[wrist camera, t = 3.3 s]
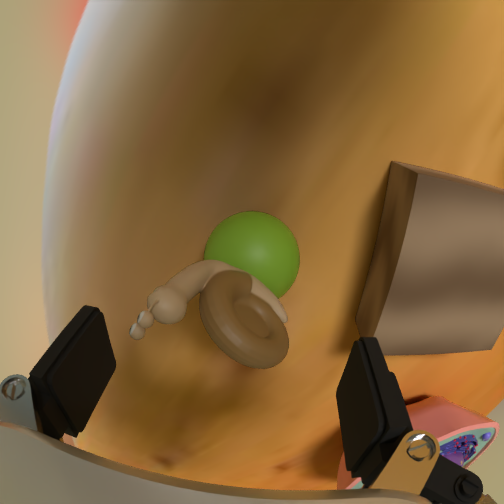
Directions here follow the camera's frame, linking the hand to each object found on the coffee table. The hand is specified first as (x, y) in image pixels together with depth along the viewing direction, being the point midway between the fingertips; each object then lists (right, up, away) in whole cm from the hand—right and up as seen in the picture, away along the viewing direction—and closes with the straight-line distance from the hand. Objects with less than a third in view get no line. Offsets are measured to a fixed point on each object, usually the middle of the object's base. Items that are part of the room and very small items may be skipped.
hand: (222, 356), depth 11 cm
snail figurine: (+1, +5, +10) cm, 11 cm away
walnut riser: (+15, +3, +9) cm, 18 cm away
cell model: (+18, -16, +18) cm, 30 cm away
